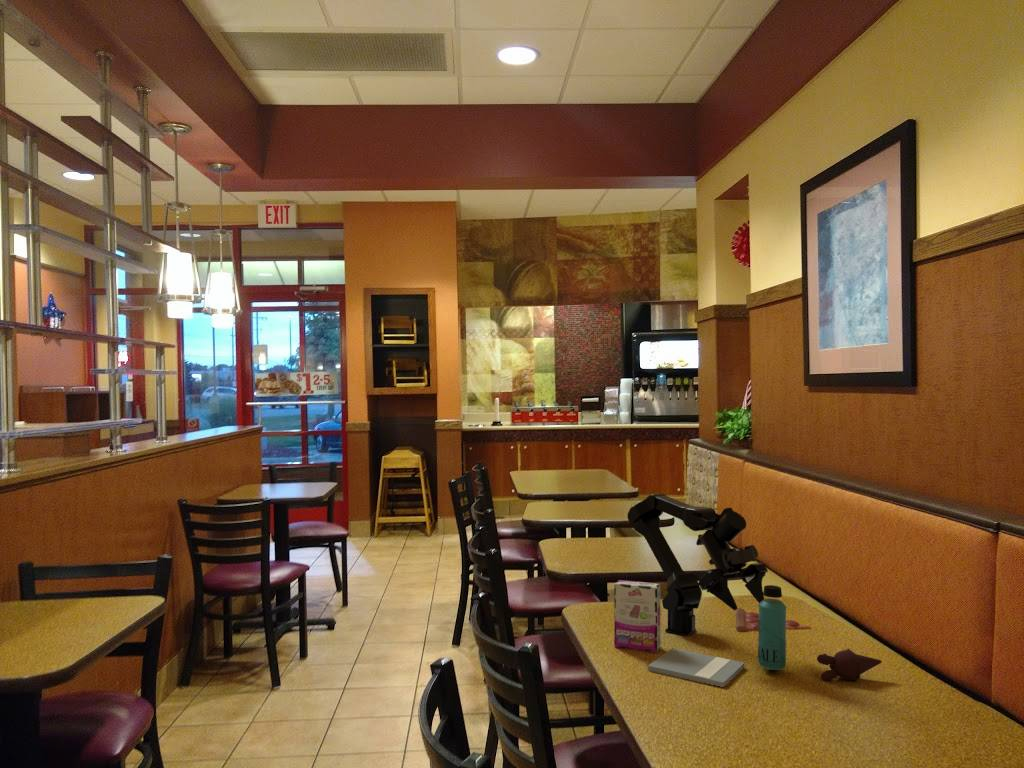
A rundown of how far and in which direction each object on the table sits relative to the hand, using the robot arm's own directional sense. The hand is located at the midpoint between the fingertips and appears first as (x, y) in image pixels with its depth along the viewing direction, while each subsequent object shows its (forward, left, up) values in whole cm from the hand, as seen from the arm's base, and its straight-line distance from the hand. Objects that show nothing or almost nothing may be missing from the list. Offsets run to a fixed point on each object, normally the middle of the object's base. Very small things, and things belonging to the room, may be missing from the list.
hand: (749, 607), depth 188 cm
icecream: (+23, +1, -13) cm, 26 cm away
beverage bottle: (+7, -5, -13) cm, 15 cm away
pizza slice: (-3, +32, -14) cm, 35 cm away
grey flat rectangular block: (-8, -14, -13) cm, 21 cm away
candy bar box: (-26, -8, -13) cm, 30 cm away
